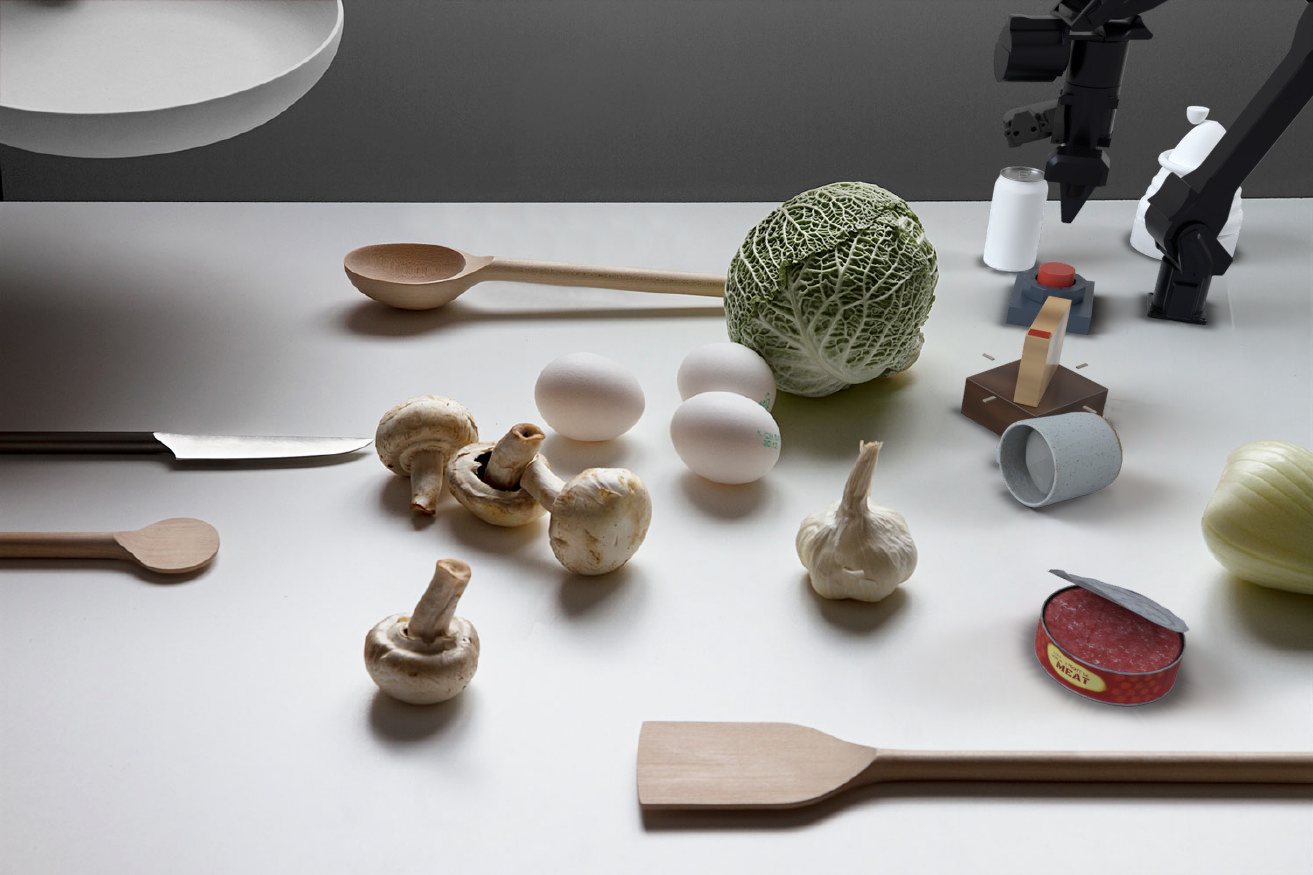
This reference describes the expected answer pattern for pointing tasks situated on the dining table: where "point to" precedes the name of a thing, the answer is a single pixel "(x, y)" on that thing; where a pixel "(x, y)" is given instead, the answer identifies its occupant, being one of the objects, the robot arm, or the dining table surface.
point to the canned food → (1109, 642)
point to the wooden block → (997, 410)
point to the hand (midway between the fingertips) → (1066, 222)
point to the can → (1015, 219)
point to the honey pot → (1182, 163)
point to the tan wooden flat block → (1042, 351)
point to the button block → (1034, 294)
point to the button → (1056, 274)
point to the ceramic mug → (1058, 457)
